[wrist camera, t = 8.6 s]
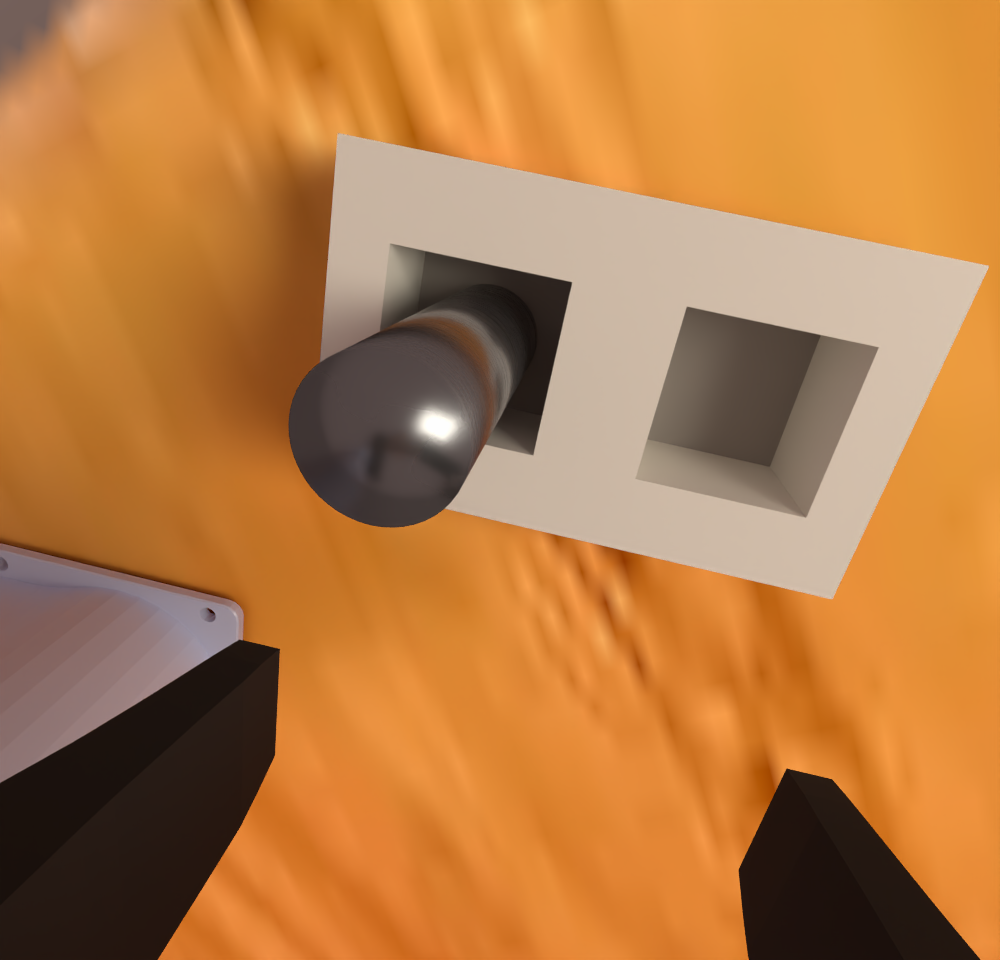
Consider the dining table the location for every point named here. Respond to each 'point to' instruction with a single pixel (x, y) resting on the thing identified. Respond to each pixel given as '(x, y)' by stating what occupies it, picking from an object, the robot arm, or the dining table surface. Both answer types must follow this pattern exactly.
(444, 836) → the dining table surface
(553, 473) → the bore block
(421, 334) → the pin
